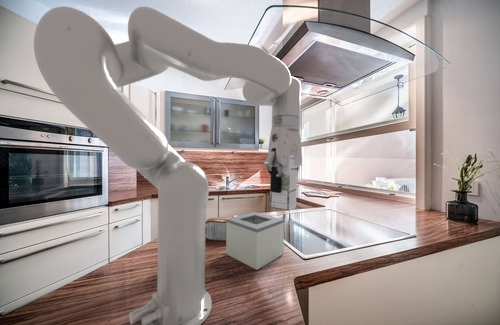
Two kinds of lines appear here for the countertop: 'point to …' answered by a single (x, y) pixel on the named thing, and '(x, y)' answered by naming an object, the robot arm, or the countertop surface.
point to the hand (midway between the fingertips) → (283, 190)
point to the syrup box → (286, 188)
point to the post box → (255, 239)
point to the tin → (216, 229)
